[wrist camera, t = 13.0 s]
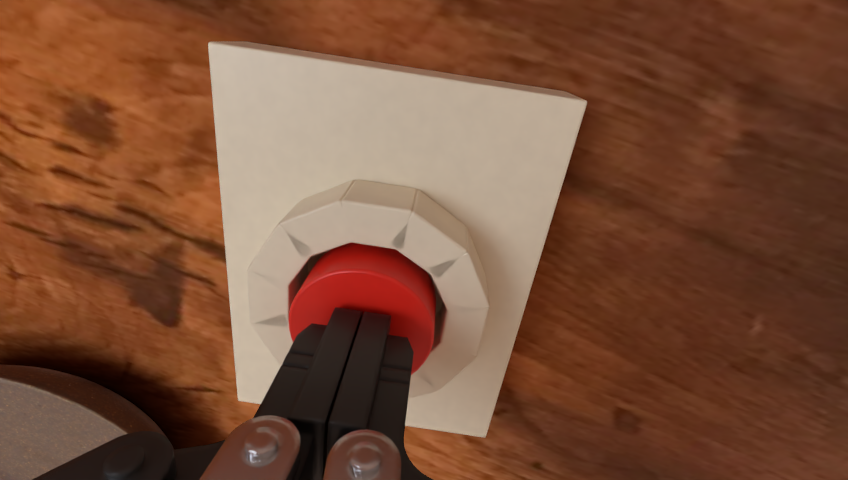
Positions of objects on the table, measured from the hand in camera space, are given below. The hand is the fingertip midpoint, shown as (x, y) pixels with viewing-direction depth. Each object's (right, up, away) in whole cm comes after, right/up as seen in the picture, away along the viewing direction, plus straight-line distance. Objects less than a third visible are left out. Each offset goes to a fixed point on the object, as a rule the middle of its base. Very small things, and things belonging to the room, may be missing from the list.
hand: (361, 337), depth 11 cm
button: (0, +1, +2) cm, 2 cm away
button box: (0, +2, +4) cm, 5 cm away
